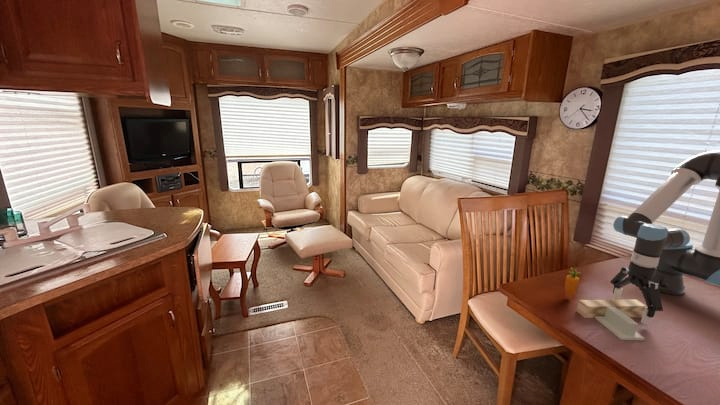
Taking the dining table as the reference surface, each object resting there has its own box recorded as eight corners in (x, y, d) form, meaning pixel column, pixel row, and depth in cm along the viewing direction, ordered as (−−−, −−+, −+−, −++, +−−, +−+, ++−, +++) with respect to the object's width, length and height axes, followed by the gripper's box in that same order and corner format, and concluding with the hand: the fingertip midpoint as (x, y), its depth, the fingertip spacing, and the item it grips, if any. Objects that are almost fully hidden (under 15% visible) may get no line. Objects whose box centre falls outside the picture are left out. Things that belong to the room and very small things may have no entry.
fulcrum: (615, 318, 116) (619, 305, 114) (643, 340, 104) (647, 325, 103) (595, 318, 116) (598, 305, 114) (621, 339, 104) (625, 325, 103)
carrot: (577, 303, 126) (584, 272, 122) (564, 302, 127) (571, 270, 123) (571, 296, 130) (578, 266, 126) (559, 295, 131) (565, 265, 127)
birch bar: (632, 310, 121) (636, 299, 120) (643, 317, 117) (646, 305, 115) (576, 311, 121) (579, 299, 119) (584, 318, 116) (587, 306, 115)
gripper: (607, 250, 124) (596, 294, 129) (666, 280, 100) (649, 332, 105) (625, 250, 124) (613, 294, 129) (688, 280, 100) (670, 333, 105)
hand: (629, 311), depth 117 cm, fingers open, 13 cm apart
